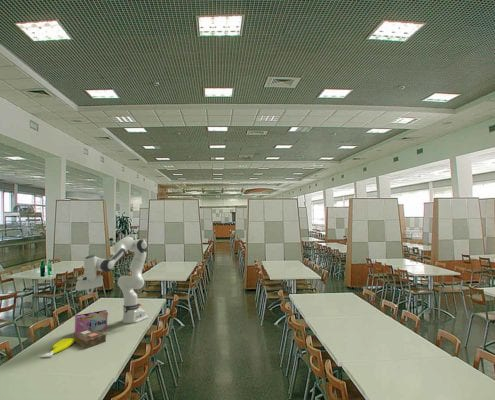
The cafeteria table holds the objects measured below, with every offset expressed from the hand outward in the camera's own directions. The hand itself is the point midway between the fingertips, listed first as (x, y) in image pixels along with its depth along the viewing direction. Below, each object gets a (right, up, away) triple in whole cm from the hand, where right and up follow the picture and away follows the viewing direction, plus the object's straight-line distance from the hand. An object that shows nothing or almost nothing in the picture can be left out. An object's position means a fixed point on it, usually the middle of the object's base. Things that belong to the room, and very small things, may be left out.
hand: (89, 294), depth 239 cm
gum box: (-3, -32, +7) cm, 33 cm away
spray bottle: (-7, -30, -28) cm, 42 cm away
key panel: (+7, -30, -15) cm, 34 cm away
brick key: (+11, -28, -18) cm, 35 cm away
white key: (+3, -29, -12) cm, 31 cm away
